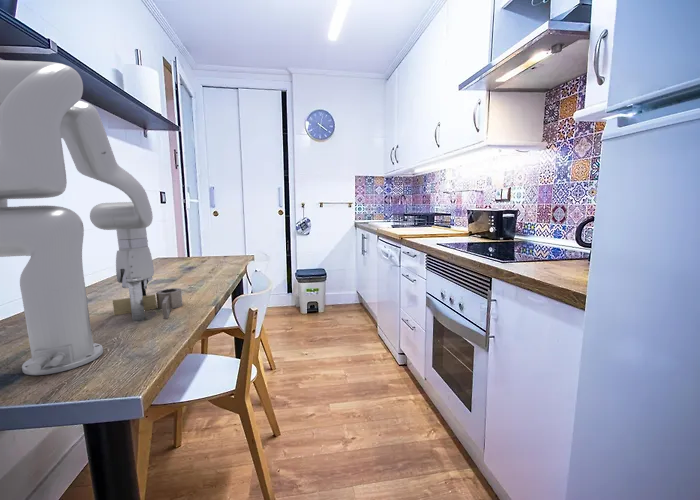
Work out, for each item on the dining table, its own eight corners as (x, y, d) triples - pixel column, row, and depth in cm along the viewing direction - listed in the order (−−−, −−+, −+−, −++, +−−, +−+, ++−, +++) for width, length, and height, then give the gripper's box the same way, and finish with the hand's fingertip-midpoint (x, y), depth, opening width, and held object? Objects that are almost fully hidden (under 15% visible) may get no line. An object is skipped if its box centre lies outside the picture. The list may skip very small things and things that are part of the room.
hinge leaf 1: (156, 308, 104) (155, 294, 103) (156, 308, 103) (155, 294, 102) (114, 314, 98) (112, 299, 98) (114, 315, 97) (112, 300, 97)
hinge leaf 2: (179, 316, 94) (177, 299, 94) (151, 320, 92) (149, 303, 91) (183, 302, 110) (181, 287, 109) (159, 304, 107) (158, 289, 106)
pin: (145, 320, 92) (140, 278, 91) (129, 322, 91) (124, 280, 89) (147, 316, 96) (143, 276, 94) (132, 318, 94) (127, 277, 93)
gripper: (141, 241, 108) (147, 295, 111) (100, 247, 94) (109, 310, 96) (161, 241, 107) (167, 296, 110) (124, 247, 93) (132, 310, 95)
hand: (140, 302), depth 103 cm, fingers closed
